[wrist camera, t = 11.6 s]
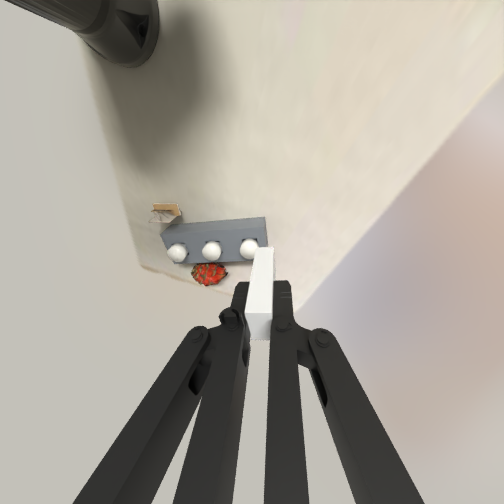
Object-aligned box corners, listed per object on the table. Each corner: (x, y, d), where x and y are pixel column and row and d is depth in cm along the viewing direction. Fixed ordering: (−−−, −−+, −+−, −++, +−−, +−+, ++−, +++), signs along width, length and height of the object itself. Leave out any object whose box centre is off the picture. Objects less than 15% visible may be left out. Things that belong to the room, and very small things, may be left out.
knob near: (243, 229, 50) (238, 244, 43) (259, 227, 49) (256, 243, 43) (245, 243, 53) (241, 259, 46) (261, 242, 52) (259, 258, 45)
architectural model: (159, 199, 49) (143, 209, 43) (183, 199, 49) (170, 209, 42) (163, 210, 51) (148, 222, 45) (186, 211, 50) (174, 223, 44)
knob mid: (209, 231, 52) (199, 246, 45) (224, 230, 51) (217, 245, 44) (213, 244, 54) (205, 261, 48) (228, 244, 53) (221, 260, 47)
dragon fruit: (194, 259, 62) (229, 259, 62) (194, 283, 62) (229, 283, 62) (186, 259, 53) (227, 260, 54) (186, 288, 53) (227, 288, 54)
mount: (170, 224, 53) (160, 234, 48) (264, 216, 48) (263, 227, 43) (182, 252, 59) (174, 263, 54) (268, 247, 54) (267, 259, 49)
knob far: (178, 233, 54) (164, 248, 47) (192, 232, 53) (180, 247, 46) (183, 246, 56) (171, 262, 50) (197, 245, 55) (186, 261, 49)
